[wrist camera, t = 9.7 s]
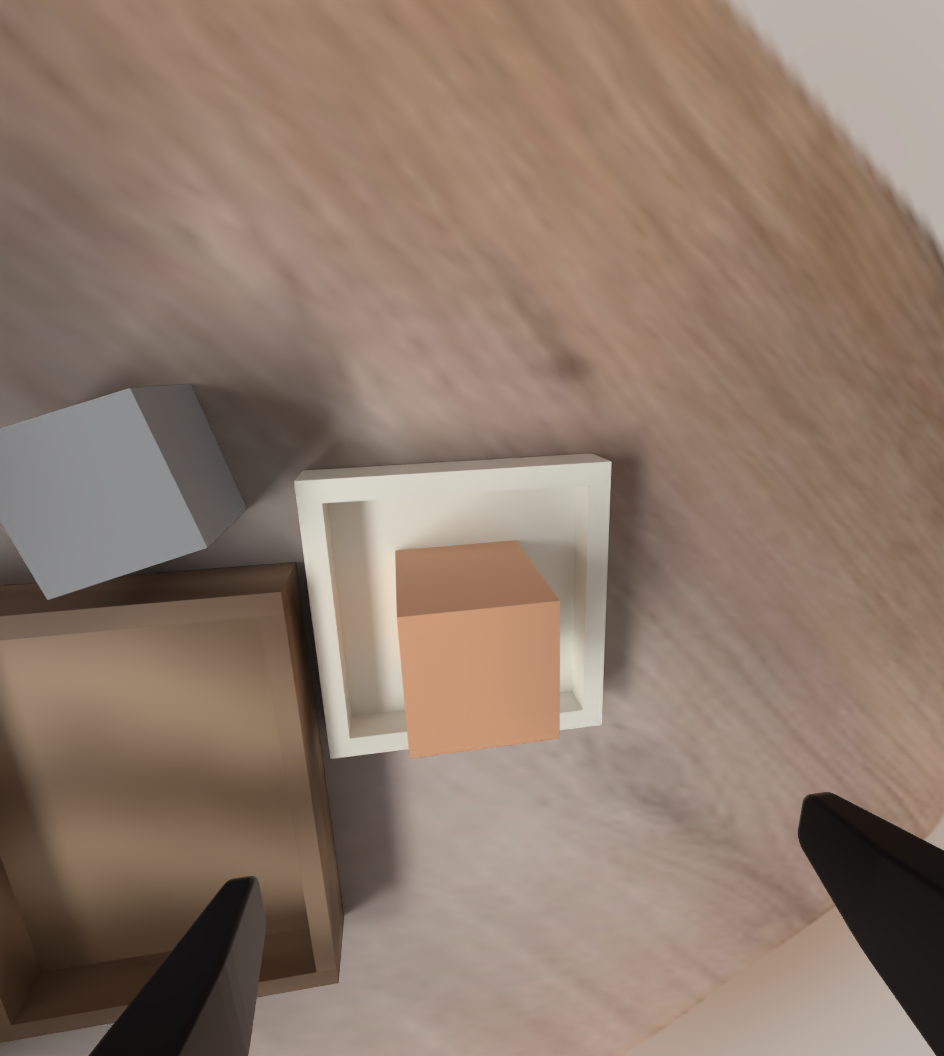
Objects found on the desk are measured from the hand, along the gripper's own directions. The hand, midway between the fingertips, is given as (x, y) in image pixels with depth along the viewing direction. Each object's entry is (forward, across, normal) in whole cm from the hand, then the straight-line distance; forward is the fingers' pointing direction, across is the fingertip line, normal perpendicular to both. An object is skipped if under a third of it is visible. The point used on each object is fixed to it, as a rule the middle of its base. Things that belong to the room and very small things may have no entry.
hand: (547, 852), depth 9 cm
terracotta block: (+10, 0, 0) cm, 10 cm away
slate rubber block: (+11, +9, -5) cm, 15 cm away
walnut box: (+11, +11, +6) cm, 17 cm away
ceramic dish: (+11, 0, 0) cm, 11 cm away
